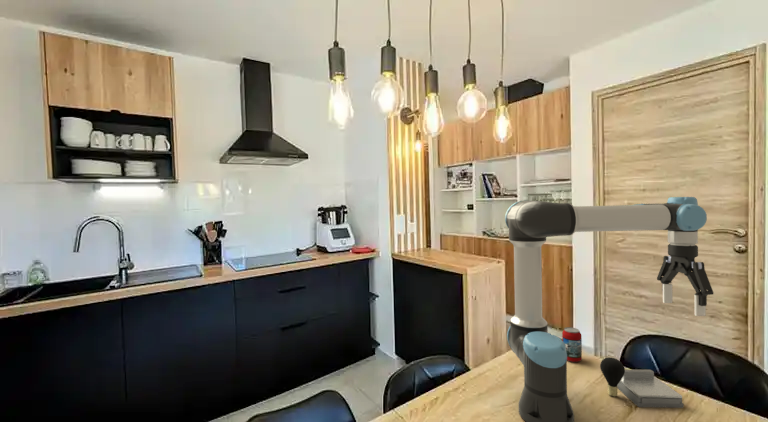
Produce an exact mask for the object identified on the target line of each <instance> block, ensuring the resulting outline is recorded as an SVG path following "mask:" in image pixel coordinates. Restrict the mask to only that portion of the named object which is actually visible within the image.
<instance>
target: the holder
mask: <svg viewBox="0 0 768 422" xmlns="http://www.w3.org/2000/svg"><path fill="white" fill-rule="evenodd" d="M617 387H618V388H617V389H618V390H619V391H620V392H621V393H622V394H623V395H625V396H626V398H628V400H630V401H631V402H632V403H633V404H634V405H635V406H637V407H638V408H672V409H673V408H679V409H680V408H681V409H683V408H684V402H683V397H682V398H654V397H638V396H637V395H635V394H634V393H633V392H632V391H631V390H629V389H628V388H627V387H626V386H625V385H624V384H622V383H621V382H619V383H618V385H617Z"/></svg>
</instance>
